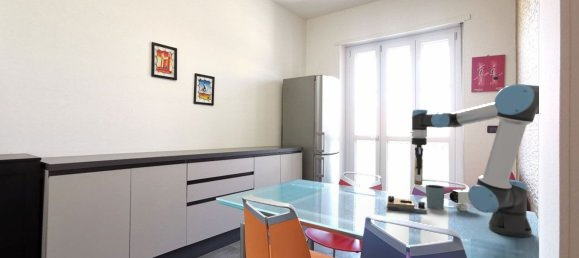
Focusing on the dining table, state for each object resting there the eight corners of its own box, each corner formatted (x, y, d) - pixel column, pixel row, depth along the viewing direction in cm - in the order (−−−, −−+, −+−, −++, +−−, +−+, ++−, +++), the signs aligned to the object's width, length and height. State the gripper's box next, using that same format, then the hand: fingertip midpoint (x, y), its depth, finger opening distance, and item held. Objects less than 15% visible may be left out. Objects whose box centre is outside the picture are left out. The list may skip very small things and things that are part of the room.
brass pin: (422, 185, 153) (423, 159, 152) (414, 184, 154) (415, 159, 154) (421, 183, 156) (422, 158, 156) (414, 183, 158) (414, 158, 157)
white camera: (474, 211, 155) (474, 189, 155) (454, 211, 154) (454, 190, 154) (467, 208, 160) (467, 187, 160) (448, 208, 159) (448, 187, 159)
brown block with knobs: (426, 213, 151) (426, 201, 150) (387, 210, 158) (387, 198, 157) (424, 207, 162) (424, 196, 162) (387, 204, 169) (387, 193, 169)
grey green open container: (433, 210, 157) (433, 188, 157) (421, 205, 167) (421, 185, 167) (449, 208, 160) (449, 187, 160) (435, 203, 170) (435, 184, 169)
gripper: (411, 136, 164) (410, 176, 165) (412, 138, 148) (411, 182, 149) (425, 136, 161) (424, 177, 162) (428, 138, 145) (427, 183, 146)
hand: (418, 179), depth 155 cm, fingers closed on brass pin, 4 cm apart
